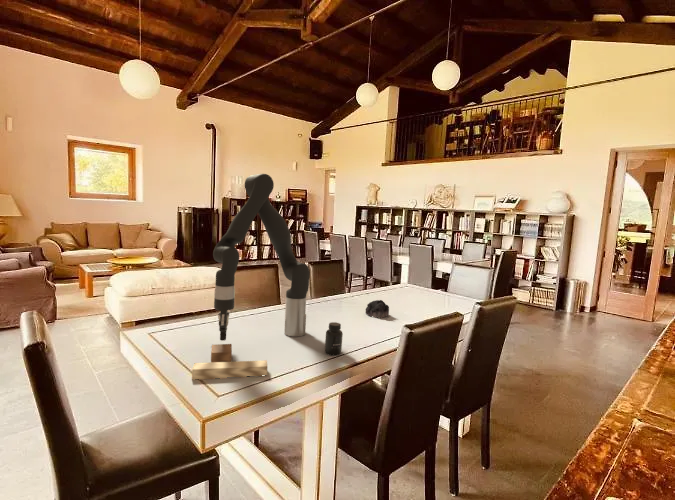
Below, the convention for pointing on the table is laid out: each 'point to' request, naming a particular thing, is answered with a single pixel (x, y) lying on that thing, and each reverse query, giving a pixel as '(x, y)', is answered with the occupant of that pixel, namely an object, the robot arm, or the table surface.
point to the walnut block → (221, 353)
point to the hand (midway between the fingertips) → (223, 339)
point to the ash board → (229, 369)
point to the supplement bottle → (333, 339)
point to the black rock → (377, 309)
